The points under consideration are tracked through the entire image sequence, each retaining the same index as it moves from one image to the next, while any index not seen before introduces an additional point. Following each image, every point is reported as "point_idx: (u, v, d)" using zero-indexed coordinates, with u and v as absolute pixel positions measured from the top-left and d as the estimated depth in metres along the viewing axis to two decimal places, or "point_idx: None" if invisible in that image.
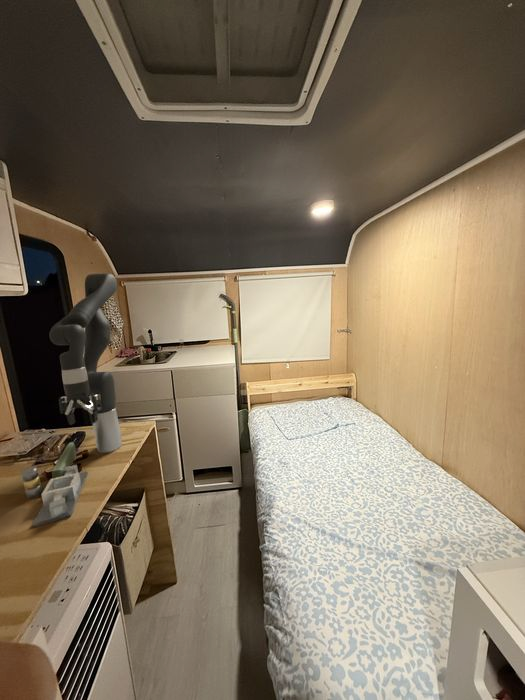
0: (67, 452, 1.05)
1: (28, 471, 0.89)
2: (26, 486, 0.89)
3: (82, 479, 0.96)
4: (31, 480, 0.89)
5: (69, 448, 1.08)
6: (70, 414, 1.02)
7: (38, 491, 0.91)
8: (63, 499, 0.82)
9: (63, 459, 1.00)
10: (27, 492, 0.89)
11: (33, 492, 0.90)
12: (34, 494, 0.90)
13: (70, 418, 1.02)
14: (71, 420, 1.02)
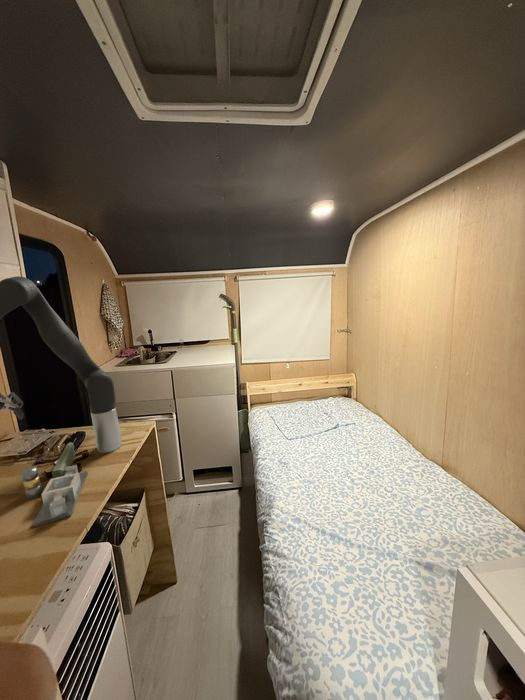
0: (66, 452, 1.05)
1: (28, 471, 0.89)
2: (26, 486, 0.89)
3: (82, 479, 0.96)
4: (31, 480, 0.89)
5: (68, 448, 1.08)
6: (14, 411, 0.96)
7: (38, 491, 0.91)
8: (63, 499, 0.82)
9: (63, 459, 1.00)
10: (27, 492, 0.89)
11: (33, 492, 0.90)
12: (34, 494, 0.90)
13: (16, 414, 0.96)
14: (17, 416, 0.96)
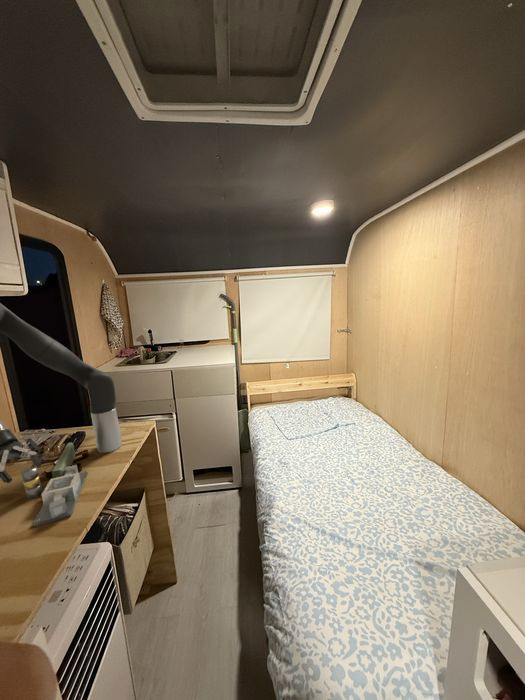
0: (66, 452, 1.05)
1: (28, 471, 0.89)
2: (26, 486, 0.89)
3: (82, 479, 0.96)
4: (31, 480, 0.89)
5: (68, 448, 1.08)
6: (31, 458, 0.95)
7: (38, 491, 0.91)
8: (63, 499, 0.82)
9: (63, 459, 1.00)
10: (27, 492, 0.89)
11: (33, 492, 0.90)
12: (34, 494, 0.90)
13: (33, 462, 0.95)
14: (35, 464, 0.95)
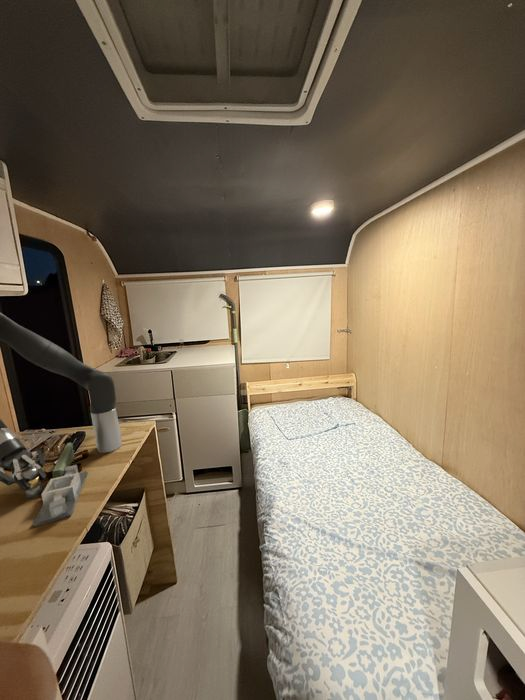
0: (66, 452, 1.05)
1: (28, 471, 0.89)
2: None
3: (82, 479, 0.96)
4: (31, 480, 0.89)
5: (68, 448, 1.08)
6: None
7: (38, 491, 0.91)
8: (63, 499, 0.82)
9: (63, 459, 1.00)
10: (27, 492, 0.89)
11: (33, 492, 0.90)
12: (34, 494, 0.90)
13: None
14: None
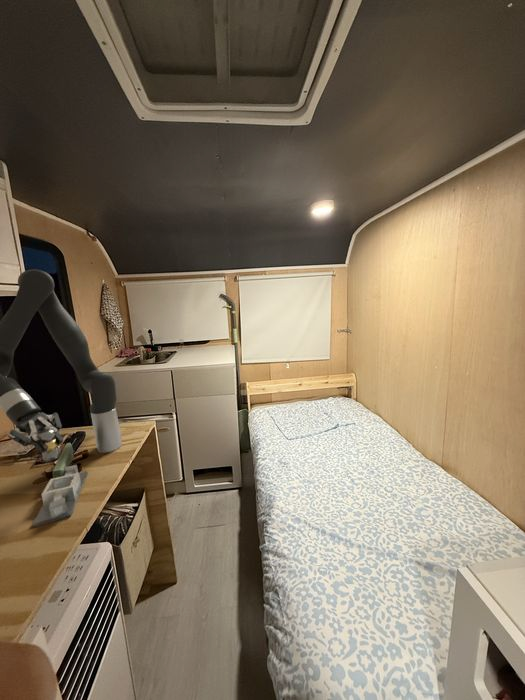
0: (66, 452, 1.05)
1: (45, 432, 0.85)
2: None
3: (82, 479, 0.96)
4: (47, 442, 0.85)
5: (67, 449, 1.07)
6: None
7: (55, 454, 0.87)
8: (63, 499, 0.82)
9: (63, 459, 1.00)
10: (44, 454, 0.85)
11: (50, 454, 0.85)
12: (51, 456, 0.86)
13: None
14: (56, 441, 0.88)
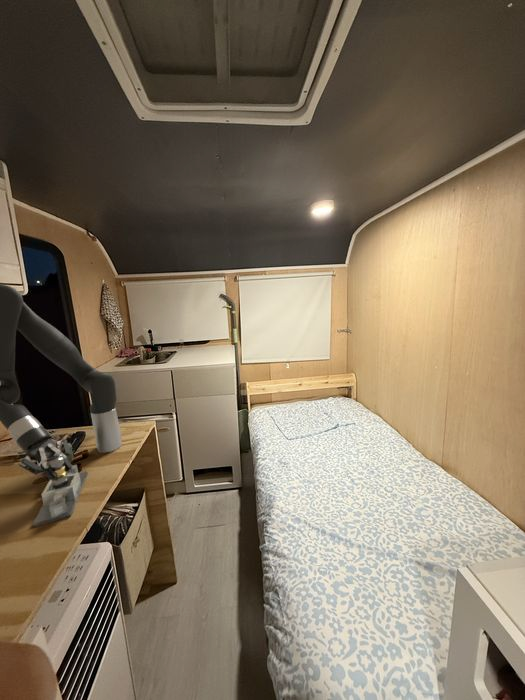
0: None
1: (55, 460, 0.86)
2: None
3: (82, 479, 0.96)
4: (57, 469, 0.86)
5: None
6: None
7: (64, 481, 0.88)
8: (63, 499, 0.82)
9: None
10: (53, 482, 0.86)
11: (59, 482, 0.87)
12: (60, 484, 0.87)
13: None
14: None
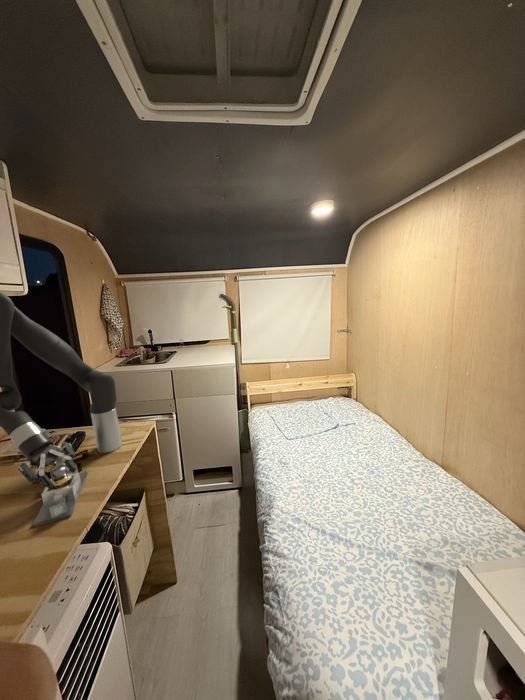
0: None
1: (57, 470, 0.87)
2: (55, 485, 0.87)
3: (82, 479, 0.96)
4: (60, 479, 0.87)
5: None
6: (66, 463, 0.92)
7: None
8: (63, 499, 0.82)
9: None
10: None
11: None
12: None
13: (68, 467, 0.92)
14: (70, 469, 0.91)
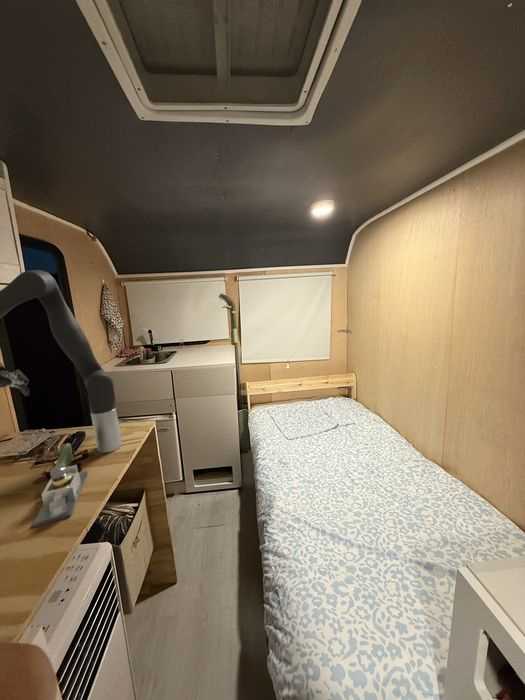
0: (65, 453, 1.05)
1: (57, 470, 0.87)
2: (55, 486, 0.87)
3: (82, 479, 0.96)
4: (60, 480, 0.87)
5: (66, 449, 1.07)
6: (19, 387, 0.97)
7: None
8: (63, 499, 0.82)
9: (62, 460, 1.00)
10: None
11: None
12: None
13: (21, 391, 0.97)
14: (23, 392, 0.97)
